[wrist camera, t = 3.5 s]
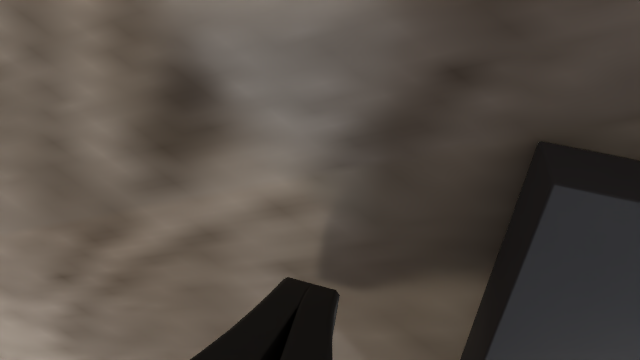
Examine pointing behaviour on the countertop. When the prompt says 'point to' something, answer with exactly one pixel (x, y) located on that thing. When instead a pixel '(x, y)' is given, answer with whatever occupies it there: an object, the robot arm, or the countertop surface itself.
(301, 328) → the robot arm
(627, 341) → the tab pad
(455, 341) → the countertop surface
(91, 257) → the countertop surface
